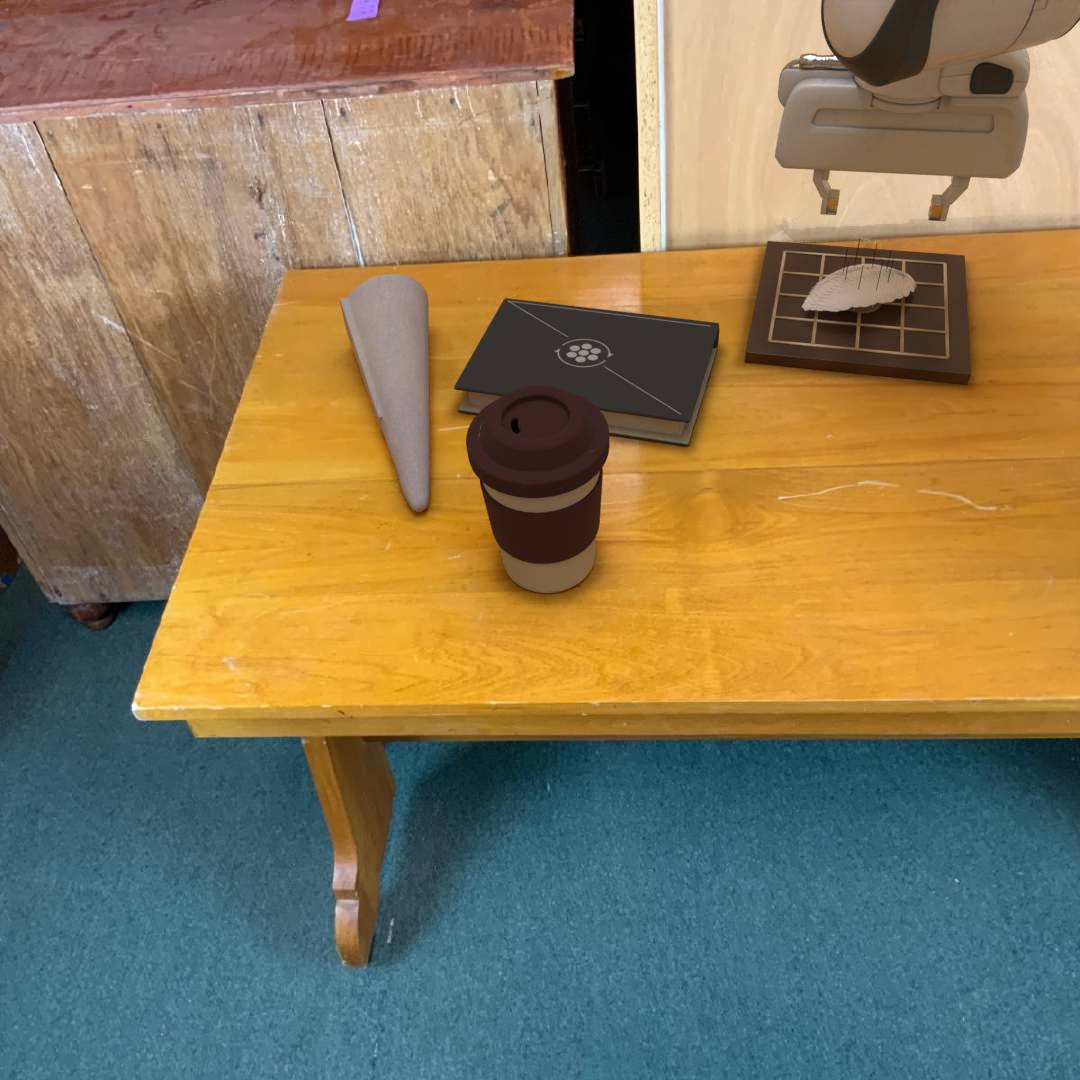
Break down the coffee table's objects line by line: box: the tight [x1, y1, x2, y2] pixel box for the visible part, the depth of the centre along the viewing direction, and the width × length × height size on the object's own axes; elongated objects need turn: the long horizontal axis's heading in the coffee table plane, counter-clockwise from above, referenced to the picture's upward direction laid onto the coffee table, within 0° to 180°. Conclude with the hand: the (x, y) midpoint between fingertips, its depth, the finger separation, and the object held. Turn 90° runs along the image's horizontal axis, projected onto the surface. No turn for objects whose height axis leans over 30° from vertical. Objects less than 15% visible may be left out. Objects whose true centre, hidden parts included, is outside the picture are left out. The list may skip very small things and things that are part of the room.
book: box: [453, 297, 720, 447], centre depth 90 cm, size 22×15×3 cm
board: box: [744, 240, 972, 386], centre depth 95 cm, size 20×20×1 cm
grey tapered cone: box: [339, 273, 431, 513], centre depth 87 cm, size 8×9×26 cm
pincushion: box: [802, 238, 917, 312], centre depth 92 cm, size 12×6×6 cm, turn 105°
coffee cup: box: [465, 385, 610, 594], centre depth 70 cm, size 10×10×15 cm
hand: (881, 215), depth 87 cm, fingers open, 8 cm apart
